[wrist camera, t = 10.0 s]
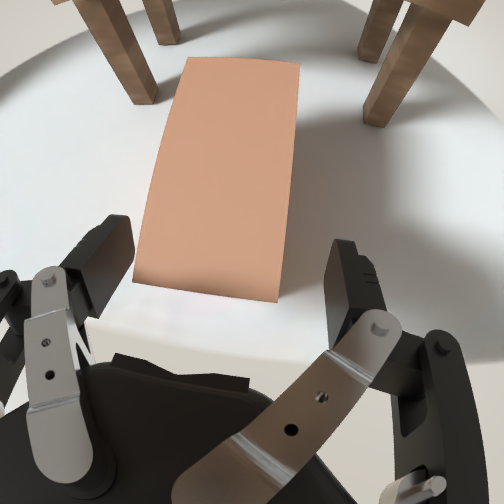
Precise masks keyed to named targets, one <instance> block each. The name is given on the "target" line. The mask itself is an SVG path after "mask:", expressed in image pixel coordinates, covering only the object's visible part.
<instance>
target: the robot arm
mask: <svg viewBox="0 0 504 504" xmlns="http://www.w3.org/2000/svg"><path fill="white" fill-rule="evenodd" d="M134 256H135V246H134V241H133V235H132V229H131V222H130V219H129V217H128V216H125V215H113V214H111V215H109V216H108V217H107V218H106V219H105V220H104V221H103V223H102V224H101V225H98V226H97V227H95V228H93V229H92V230H90V231H89V232H88V233H87V234H86V235H85V236H84V237H83V238H82V241H80V242H79V243H78V244H77V246H76V247H74V249H73V250H72V251H71V252H70V253H69V254H68V256H67V257H66V258H65V259H64V260H63V262H62V263H61V264H60V265H59V266H51V267H47V268H45V269H43V270H41V271H40V272H38V273H37V274H36V275H35V277H34V278H33V280H28V281H20V280H19V278H18V276H17V274H16V272H15V271H13V270H6V271H3V272H0V322H1V321H2V319H3V318H4V317H5V319H6V320H7V322H8V324H9V326H10V327H9V329H8V330H7V332H6V334H5V335H4V337H3V339H2V340H1V342H0V504H357V502H356V501H355V500H354V499H353V498H352V497H351V495H350V494H349V493H348V492H347V491H346V489H345V488H344V487H343V486H342V485H341V483H340V482H339V481H338V480H337V479H336V477H335V476H334V475H333V474H332V472H331V471H330V470H329V469H328V467H327V466H326V465H325V464H324V462H323V461H322V460H321V459H320V458H319V456H318V455H317V454H316V452H317V451H318V450H319V449H320V447H321V446H322V445H323V444H324V443H325V442H326V440H327V439H328V438H329V437H330V436H331V434H332V433H333V432H334V431H335V429H336V428H337V427H338V426H339V425H340V423H341V422H342V421H343V420H344V418H345V417H346V416H347V415H348V413H349V412H350V411H351V409H352V408H353V407H354V405H355V404H356V403H357V401H358V400H359V398H360V397H361V396H362V395H363V393H364V392H365V390H366V389H367V387H370V388H373V389H376V390H379V391H382V392H385V393H389V394H390V395H391V406H392V418H393V435H394V459H395V481H394V482H392V483H391V484H389V485H388V486H387V487H386V488H385V489H384V490H383V492H382V494H381V496H380V500H379V504H489V492H488V481H487V470H486V461H485V455H484V447H483V440H482V434H481V429H480V424H479V418H478V413H477V409H476V405H475V400H474V396H473V391H472V387H471V383H470V380H469V376H468V372H467V369H466V365H465V362H464V358H463V355H462V352H461V348H460V346H459V343H458V342H457V340H456V339H455V338H454V337H453V336H452V335H451V334H449V333H448V332H446V331H443V330H432V331H430V332H429V333H428V334H427V335H426V336H425V338H422V337H419V336H416V335H413V334H410V333H407V332H405V331H403V330H402V328H401V325H400V323H399V321H398V320H397V319H396V318H395V317H394V316H393V315H392V314H390V313H388V312H387V309H386V305H385V302H384V298H383V295H382V291H381V288H380V285H379V281H378V278H377V277H376V272H375V269H374V265H373V264H372V263H371V262H370V260H369V259H368V258H367V257H366V256H363V255H358V252H357V249H356V245H355V242H354V241H349V240H341V239H334V241H333V244H332V247H331V251H330V255H329V259H328V263H327V267H326V270H325V275H324V294H325V305H326V315H327V327H328V340H329V350H326V351H324V352H323V353H322V354H321V355H320V356H319V357H318V358H317V359H316V360H315V361H314V362H313V363H312V365H311V366H310V367H309V368H308V369H307V370H306V371H305V372H304V373H303V374H302V375H301V376H300V377H299V378H298V379H297V380H296V381H295V382H294V383H293V384H292V385H291V386H290V387H289V388H288V389H287V390H286V391H284V392H283V393H282V394H281V395H280V397H278V398H277V399H276V400H275V401H273V400H272V399H270V398H269V397H267V396H266V395H264V394H262V393H260V392H258V391H256V390H253V389H251V388H249V381H250V378H244V377H236V376H230V375H223V374H216V373H210V374H191V375H190V374H189V375H177V374H173V373H171V372H169V371H167V370H165V369H163V368H161V367H158V366H156V365H154V364H152V363H150V362H148V361H146V360H143V359H139V358H134V357H130V356H126V355H122V354H118V353H115V355H114V357H113V359H112V361H111V362H103V363H97V364H96V362H95V359H94V355H93V351H92V347H91V342H90V338H89V334H88V329H87V325H86V323H85V320H86V318H87V316H89V317H93V318H97V319H99V317H100V315H101V314H102V312H103V310H104V308H105V307H106V305H107V303H108V302H109V300H110V298H111V296H112V295H113V293H114V291H115V290H116V288H117V286H118V285H119V283H120V282H121V280H122V278H123V277H124V275H125V273H126V272H127V270H128V269H129V267H130V265H131V264H132V262H133V260H134ZM24 365H25V366H26V378H27V388H28V397H29V401H28V402H26V403H25V404H23V405H21V406H20V407H18V408H16V409H15V410H13V411H11V412H10V413H8V414H6V415H5V416H4V409H5V406H6V404H7V402H8V399H9V397H10V395H11V393H12V390H13V388H14V386H15V384H16V382H17V380H18V377H19V375H20V373H21V371H22V369H23V367H24Z"/></svg>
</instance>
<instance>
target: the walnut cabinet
mask: <svg viewBox="0 0 504 504" xmlns="http://www.w3.org/2000/svg"><path fill="white" fill-rule="evenodd" d="M51 1H52V2H53V4H54V5H58V4H60V3H63V2H66V1H69V0H51ZM142 1H143V4H144V7H145V9H146V12H147V15H148V17H149V20H150V23H151V25H152V28H153V31H154V33H155V36H156V39H157V41H158V44H159V45H169V44H176V43H177V41H178V38H179V36H180V34H181V32H180V29H179V25H178V22H177V18H176V15H175V11H174V8H173V4H172V1H171V0H142ZM403 1H404V0H373V3H372V6H371V9H370V12H369V15H368V18H367V21H366V24H365V27H364V30H363V33H362V36H361V38H360V41H359V44H358V47H357V49H358V58H359V59H360V60H364V61H369V62H373V63H377V61H378V59H379V57H380V55H381V52H382V50H383V48H384V46H385V43H386V41H387V39H388V36H389V34H390V32H391V29H392V27H393V25H394V23H395V20H396V18H397V15H398V13H399V10H400V8H401V6H402V4H403ZM405 1H408V2H411V4H410V6H409V9H408V11H407V13H406V15H405V18H404V20H403V22H402V24H401V27H400V29H399V31H398V33H397V35H396V37H395V40H394V42H393V44H392V46H391V48H390V50H389V53H388V55H387V57H386V59H385V61H384V63H383V65H382V67H381V70H380V72H379V74H378V76H377V78H376V80H375V82H374V84H373V86H372V88H371V90H370V93H369V95H368V97H367V99H366V101H365V103H364V105H363V118H364V123H365V124H370V125H374V126H379V127H383V128H384V127H385V126H386V124H387V123H388V121H389V120H390V118H391V117H392V115H393V114H394V112H395V111H396V109H397V108H398V106H399V105H400V103H401V102H402V100H403V98H404V97H405V95H406V94H407V92H408V91H409V89H410V88H411V86H412V84H413V83H414V81H415V80H416V78H417V77H418V75H419V73H420V72H421V70H422V69H423V67H424V66H425V64H426V62H427V61H428V59H429V57H430V56H431V54H432V53H433V51H434V49H435V48H436V46H437V44H438V43H439V41H440V40H441V38H442V36H443V35H444V33H445V31H446V29H447V28H448V26H449V24H450V23H451V21H452V20H455V21H458V22H460V23H462V24H464V25H466V26H469V25H470V24H471V22H472V21H473V19H474V17H475V16H476V14H477V13H478V11H479V10H480V8H481V7H482V5H483V3H484V2H485V0H405ZM73 2H74V4H75V6H76V7H77V9H78V11H79V13H80V14H81V16H82V18H83V20H84V21H85V23H86V25H87V26H88V28H89V30H90V32H91V33H92V35H93V37H94V39H95V40H96V42H97V44H98V45H99V47H100V49H101V50H102V52H103V54H104V55H105V57H106V59H107V61H108V62H109V64H110V66H111V67H112V69H113V71H114V72H115V74H116V76H117V77H118V79H119V81H120V82H121V84H122V86H123V87H124V89H125V91H126V92H127V94H128V95H129V97H130V99H131V100H132V102H133V104H134V105H141V104H153V102H154V99H155V96H156V94H157V91H158V86H157V84H156V82H155V80H154V77H153V75H152V73H151V71H150V69H149V66H148V64H147V62H146V60H145V57H144V55H143V53H142V51H141V49H140V46H139V44H138V42H137V40H136V37H135V35H134V33H133V31H132V28H131V26H130V24H129V22H128V19H127V17H126V15H125V13H124V10H123V8H122V6H121V3H120V1H119V0H73Z"/></svg>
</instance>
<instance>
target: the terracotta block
mask: <svg viewBox="0 0 504 504" xmlns="http://www.w3.org/2000/svg"><path fill="white" fill-rule="evenodd" d="M299 72H300V63H292V62H284V61H274V60H263V59H250V58H230V57H188V59H187V61H186V64H185V67H184V70H183V73H182V75H181V78H180V81H179V84H178V87H177V90H176V93H175V96H174V100H173V103H172V106H171V109H170V113H169V116H168V119H167V123H166V126H165V130H164V133H163V137H162V140H161V144H160V148H159V151H158V155H157V159H156V163H155V167H154V171H153V175H152V179H151V184H150V188H149V192H148V197H147V202H146V206H145V211H144V216H143V221H142V226H141V231H140V237H139V242H138V248H137V254H136V260H135V266H134V272H133V279H132V282H134V283H140V284H146V285H152V286H158V287H164V288H171V289H177V290H184V291H190V292H197V293H204V294H211V295H218V296H225V297H233V298H240V299H248V300H256V301H264V302H273V303H278V295H279V287H280V279H281V270H282V261H283V253H284V243H285V234H286V225H287V215H288V205H289V195H290V185H291V174H292V163H293V151H294V140H295V127H296V114H297V101H298V87H299Z"/></svg>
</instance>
